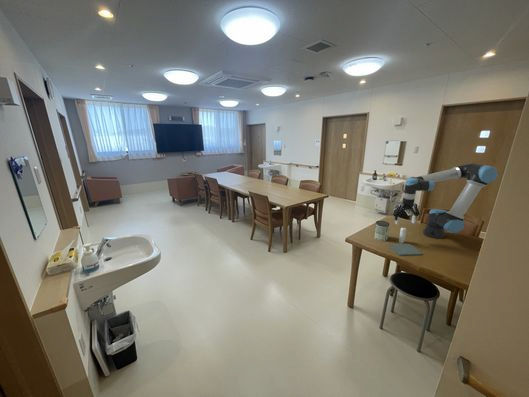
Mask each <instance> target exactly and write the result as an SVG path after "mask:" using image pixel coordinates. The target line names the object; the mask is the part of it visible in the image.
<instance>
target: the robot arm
mask: <svg viewBox="0 0 529 397" xmlns="http://www.w3.org/2000/svg"><path fill="white" fill-rule="evenodd" d="M498 175H499V172H498V169H497V168H496V167H494V166H492V165H487V164H477V163H466V164H461V165H457V166H453V167H452V168H450V169H446V170H442V171H437V172H434V173H433V172H432V173H429V174H425V175H419V176H409V177H408V178H406V180H405V182H404V191H403V198H402V204H400V203H399V204H397V207H396V209H395V210H394V211H393V213H392V215H393V216H394V224H396V225H399V219H400V215H401V214H403V212H404V211H410V212H411V213H412V217H411V223H412V224H413V225H414V224H415V223H416V220H417V218H418V217H419V216H420V215H421V213H420V210H419V207H418V204H417V203H415V199H416V194H417V192H426V191H427V192H429V191H430V192H431V191H433V190H434V189H435V187H436V184H435V183H438V182H442V181H443V182H444V181H447V180H452V179H466V180H465V181H466V184H465V186H464V188H463V189H462V191H461V192H460V194H459V195H458V197H457V199H456V200H455V202H454V203H453V205H452V207H451V208H450V210H449V211H447V210H446V209H442V208H441V209H440V208H432V209H430V210H429V212H428V219H427V223H426V226H425V227H424V229H423V231H422V234H423V235H424V236H426V237H428V238H429V237H430V238H432V239H439V240H440V239H444V238H445V237H446V234H445V231H446V232H448V233H451V234H455V233H458V232H460V231H462V230H464V228H465V223H464V220H465V217H464V215H465V214H466V213H467V211H468V210H469V208H470V206H471V205H472V204H473V202H474V200H475V199H476V197H477V195H478V194H479V192H480V191H481V190H482V188H484V187H486V186H487V185H488V184H490V183H493V182H494V181H495V180H496V179H497V178H498Z"/></svg>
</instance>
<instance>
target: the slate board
mask: <svg viewBox="0 0 529 397" xmlns="http://www.w3.org/2000/svg"><path fill="white" fill-rule="evenodd" d="M388 247H389V249H391V250H392V251H393V252H394V253H396V254H397V255H398V256H399V257H401V256H404V257H405V256H423V252H422V251H420V250H419V249H417V248H416V247H415V246H413V245H412V244H410V243H400V244H397V243H396V244H388Z"/></svg>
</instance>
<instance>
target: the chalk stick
mask: <svg viewBox="0 0 529 397" xmlns="http://www.w3.org/2000/svg"><path fill="white" fill-rule="evenodd" d="M399 231H400V232H399V238H398V242H399V243H400V244H405V240H406V236H407V228H406V227H400V230H399Z"/></svg>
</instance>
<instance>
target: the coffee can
mask: <svg viewBox="0 0 529 397" xmlns="http://www.w3.org/2000/svg"><path fill="white" fill-rule="evenodd" d="M390 225H391V224H390V222H388V221H386V220H376V221H375V226H374V236H373V237H374V239H375V240H378V241H381V242H382V241H385V242H386V241H387V240H388V238H389V237H388V236H389V231H390V230H389V229H390Z"/></svg>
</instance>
